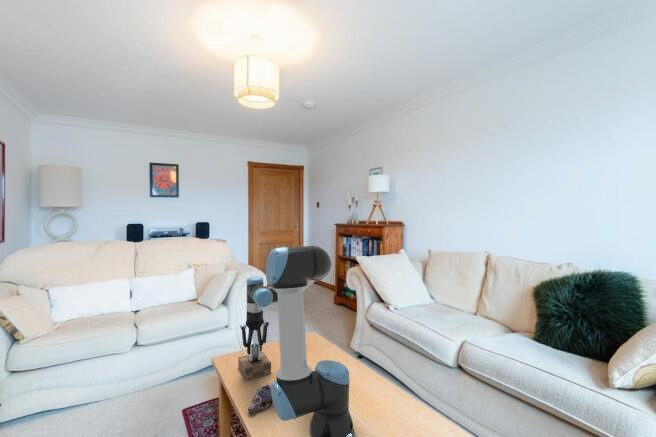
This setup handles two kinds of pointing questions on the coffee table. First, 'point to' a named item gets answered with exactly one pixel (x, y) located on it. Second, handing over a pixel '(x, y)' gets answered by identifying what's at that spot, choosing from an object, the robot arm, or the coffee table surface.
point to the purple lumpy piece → (261, 399)
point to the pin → (254, 353)
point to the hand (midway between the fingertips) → (254, 359)
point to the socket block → (254, 366)
